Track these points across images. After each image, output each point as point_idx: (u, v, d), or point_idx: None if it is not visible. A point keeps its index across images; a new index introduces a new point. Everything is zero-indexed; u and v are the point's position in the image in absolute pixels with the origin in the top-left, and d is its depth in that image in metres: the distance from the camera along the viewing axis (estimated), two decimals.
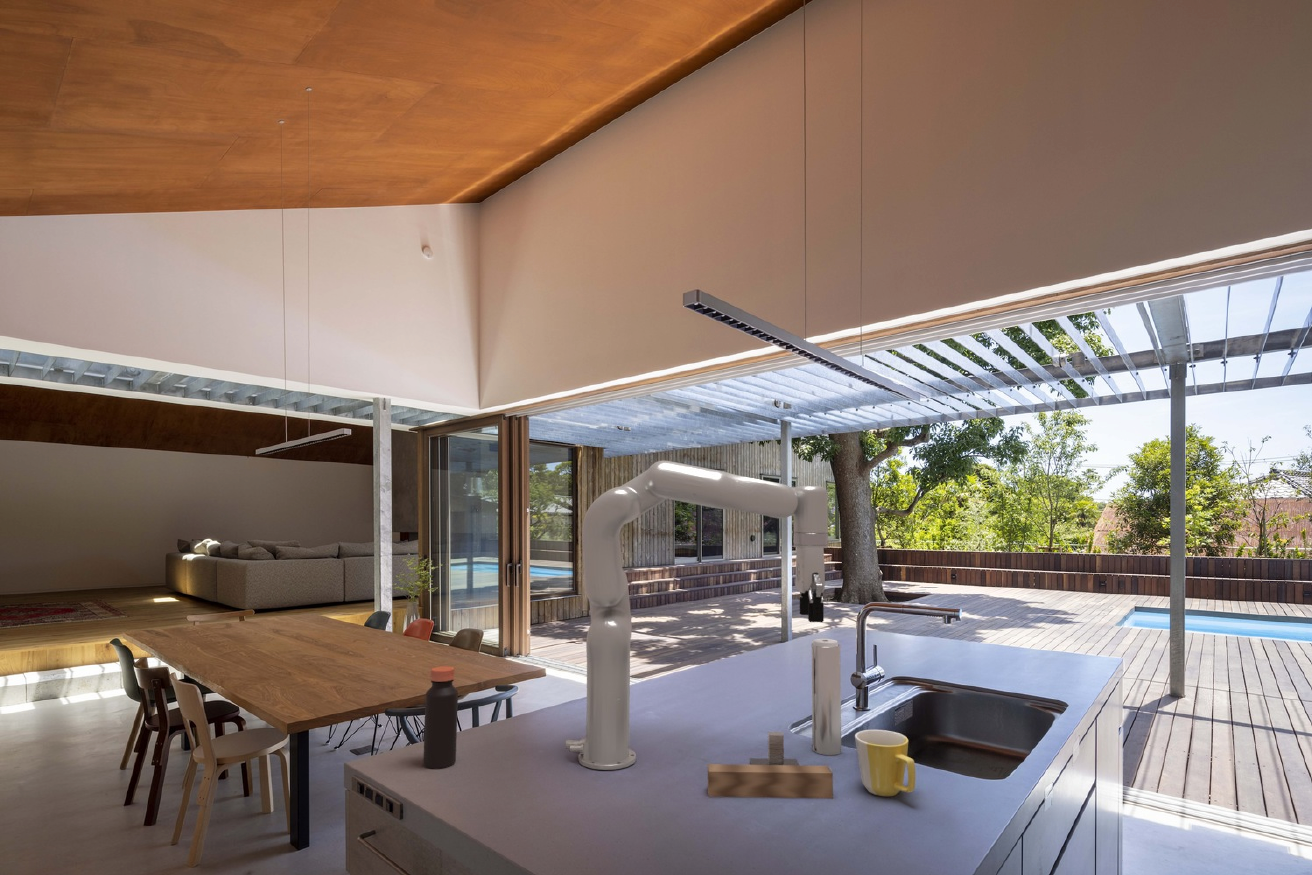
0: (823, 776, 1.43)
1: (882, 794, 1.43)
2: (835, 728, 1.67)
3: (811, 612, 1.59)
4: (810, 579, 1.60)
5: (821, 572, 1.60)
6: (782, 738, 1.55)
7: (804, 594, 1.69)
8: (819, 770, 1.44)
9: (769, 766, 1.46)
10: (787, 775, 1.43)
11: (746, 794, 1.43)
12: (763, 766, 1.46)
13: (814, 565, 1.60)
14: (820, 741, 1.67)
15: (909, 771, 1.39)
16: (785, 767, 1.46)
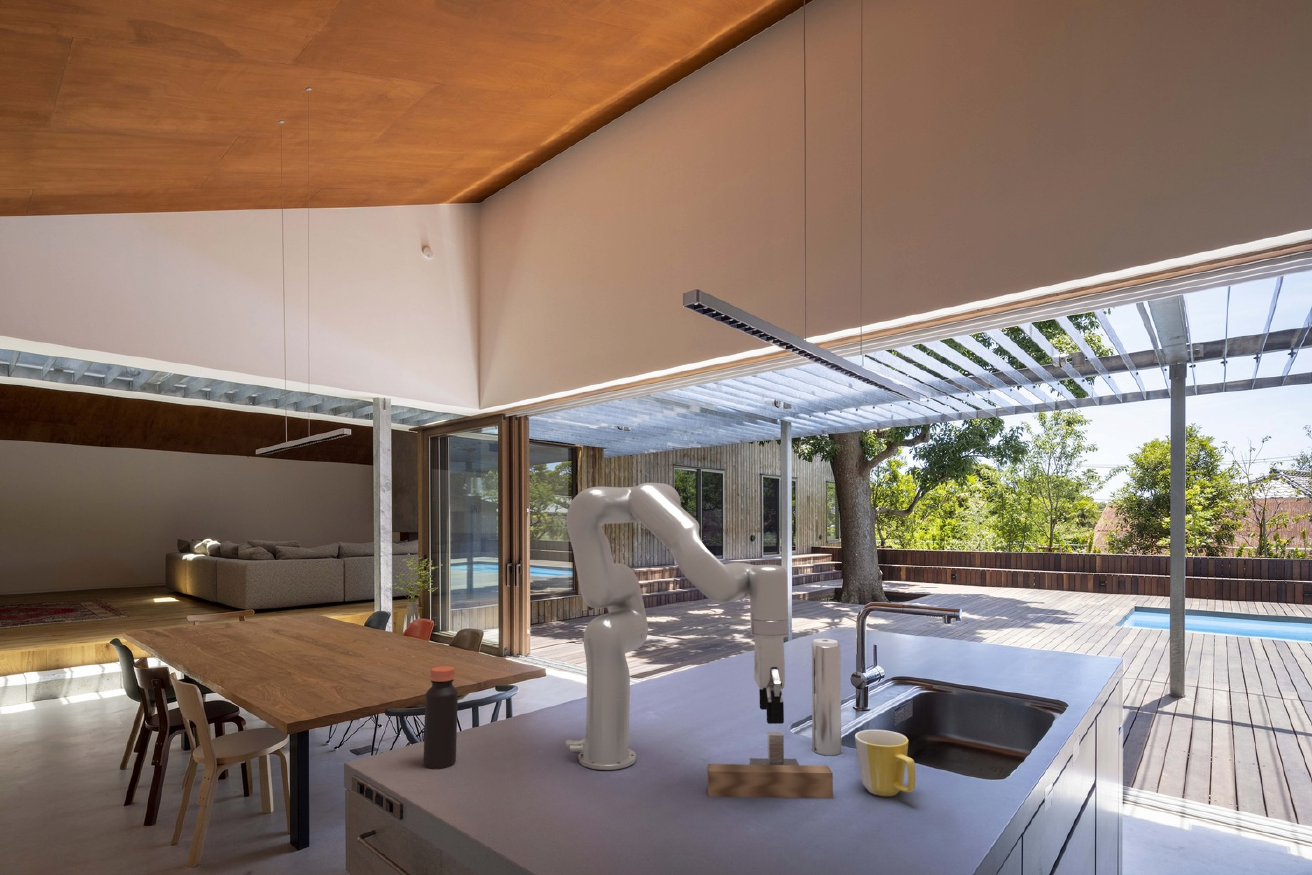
0: (823, 776, 1.43)
1: (882, 794, 1.43)
2: (835, 728, 1.67)
3: (770, 712, 1.40)
4: (768, 674, 1.41)
5: (780, 666, 1.42)
6: (782, 738, 1.55)
7: None
8: (819, 770, 1.44)
9: (769, 766, 1.46)
10: (787, 774, 1.43)
11: (746, 793, 1.43)
12: (763, 766, 1.46)
13: (772, 658, 1.42)
14: (820, 741, 1.67)
15: (909, 771, 1.39)
16: (785, 767, 1.46)
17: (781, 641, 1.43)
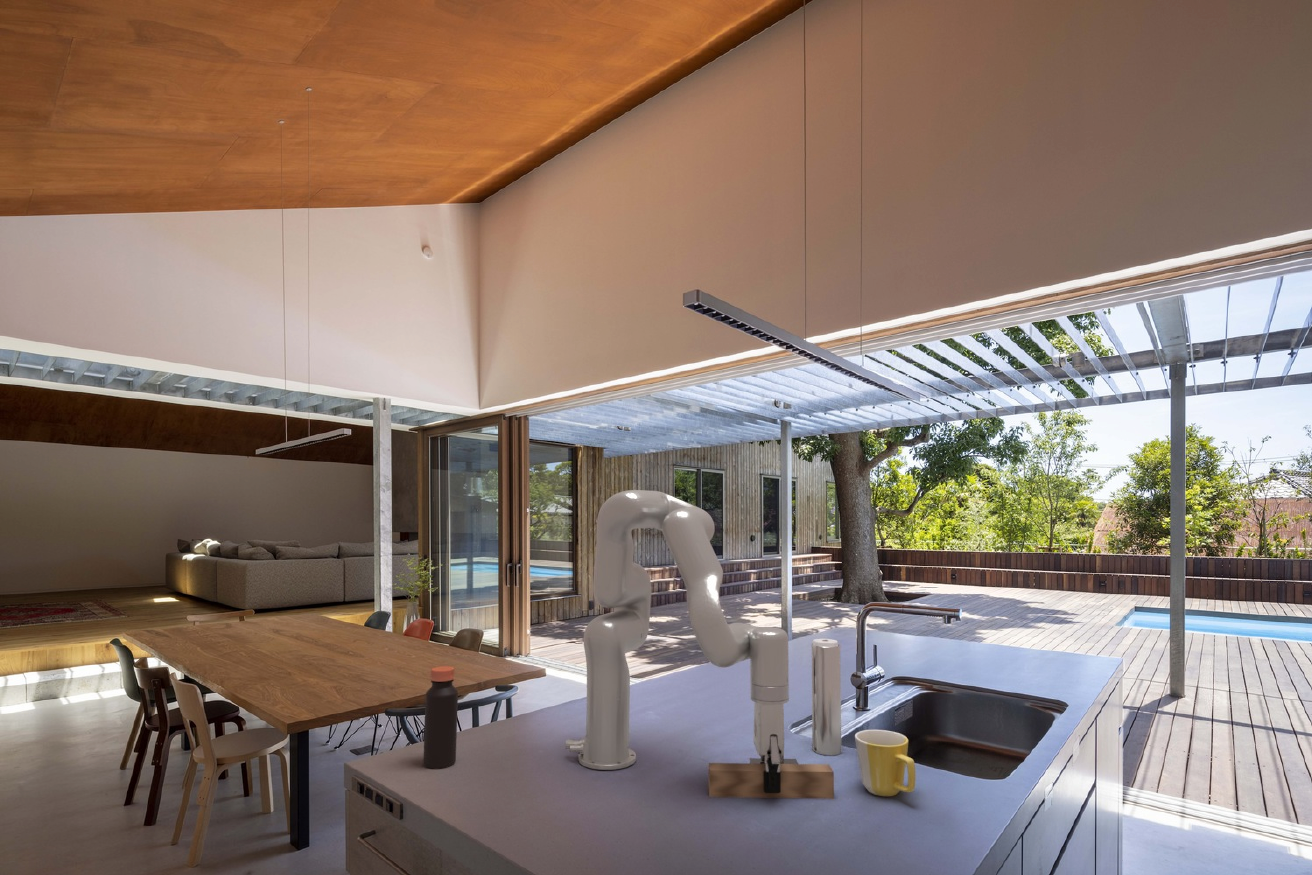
0: (824, 775, 1.43)
1: (882, 794, 1.43)
2: (835, 728, 1.67)
3: (767, 782, 1.42)
4: (767, 742, 1.40)
5: (780, 733, 1.41)
6: None
7: None
8: (821, 769, 1.44)
9: None
10: (788, 773, 1.43)
11: (747, 792, 1.42)
12: (764, 765, 1.46)
13: (772, 725, 1.41)
14: (820, 741, 1.67)
15: (909, 771, 1.39)
16: (786, 765, 1.45)
17: (781, 708, 1.42)
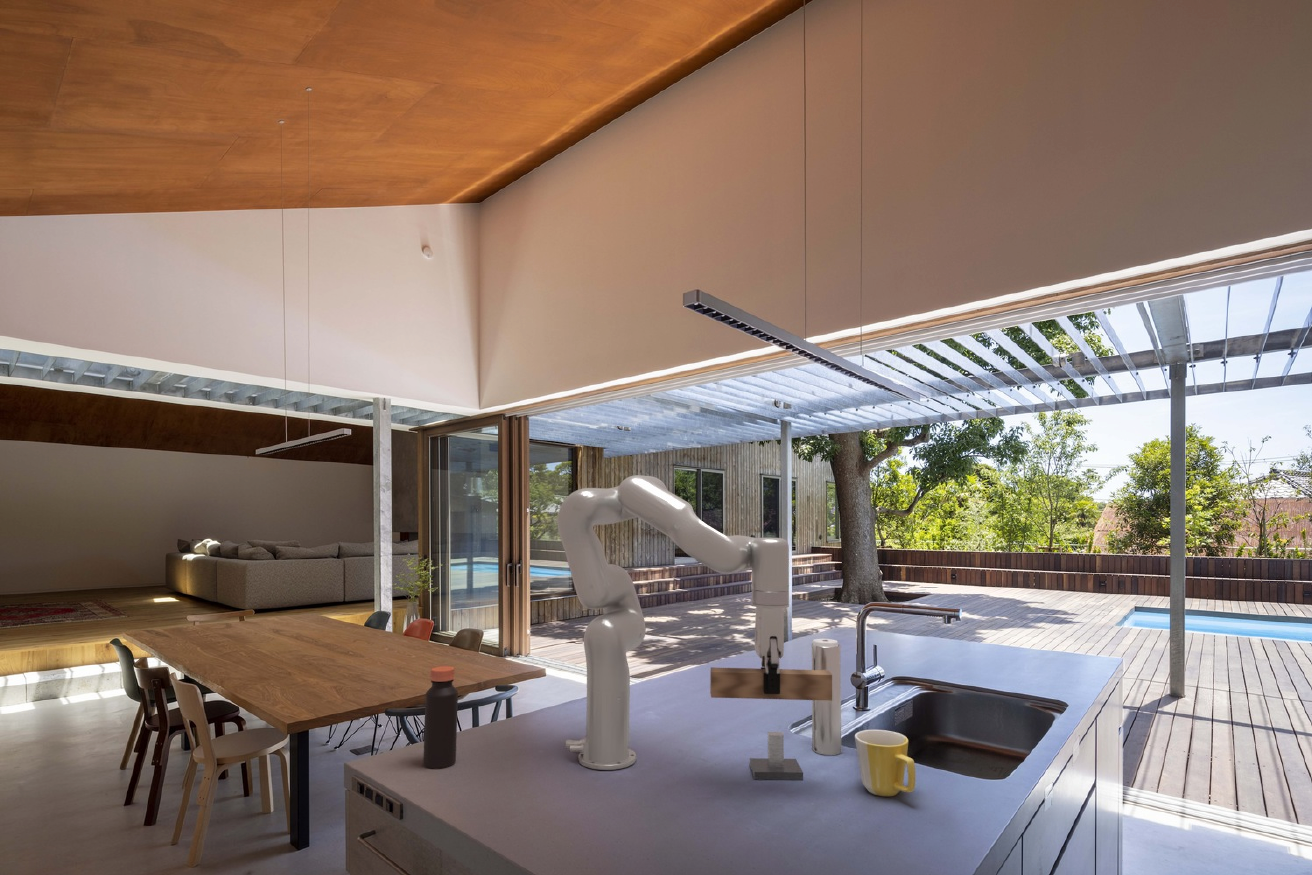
0: (823, 677, 1.47)
1: (882, 794, 1.43)
2: (835, 728, 1.67)
3: (766, 683, 1.46)
4: (767, 643, 1.44)
5: (779, 635, 1.45)
6: (782, 738, 1.55)
7: None
8: (819, 673, 1.48)
9: None
10: (788, 676, 1.47)
11: (748, 694, 1.47)
12: (764, 669, 1.50)
13: (772, 628, 1.45)
14: (820, 741, 1.67)
15: (909, 771, 1.39)
16: (786, 670, 1.50)
17: (781, 611, 1.46)
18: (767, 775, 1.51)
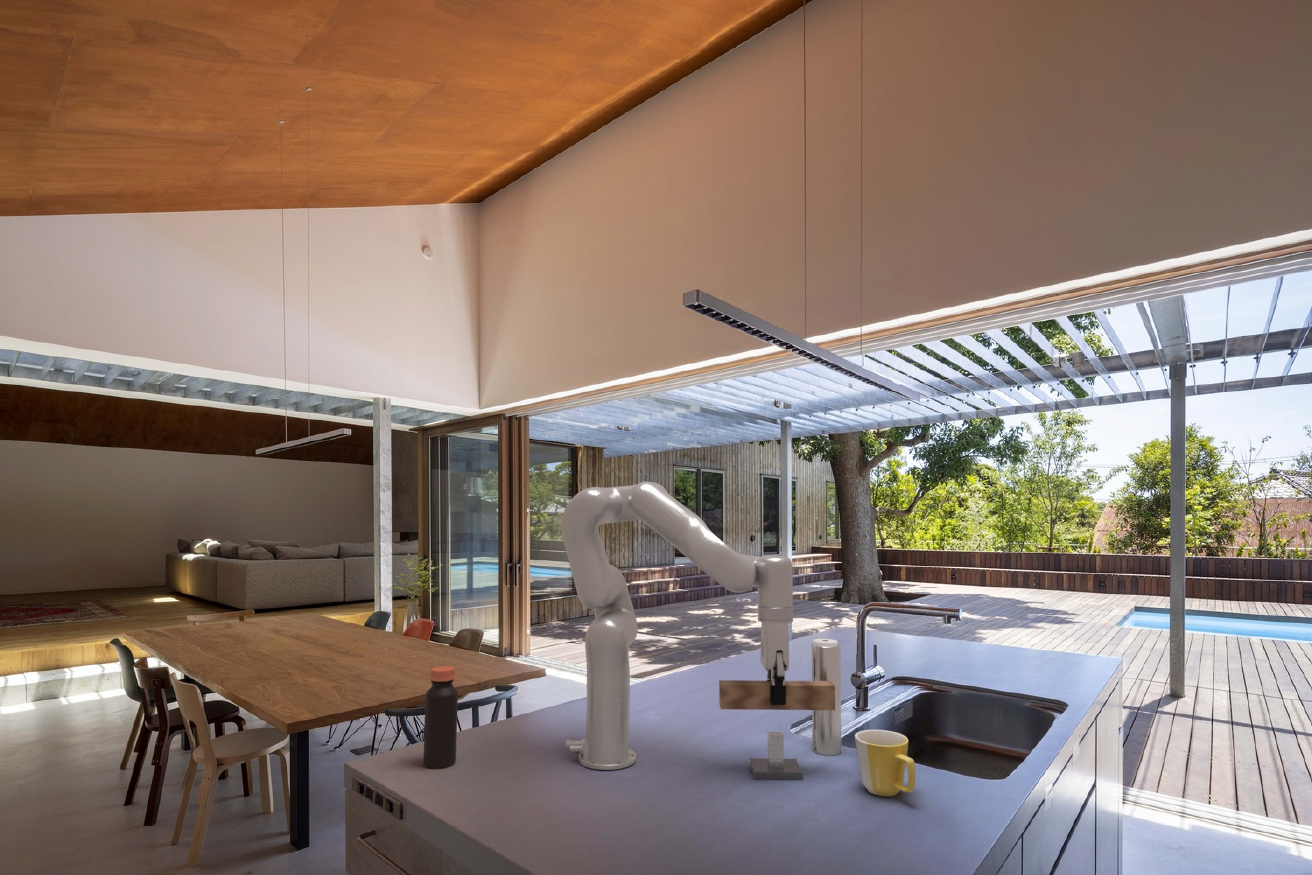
0: (826, 688, 1.55)
1: (882, 794, 1.43)
2: (835, 728, 1.67)
3: (773, 695, 1.54)
4: (774, 657, 1.52)
5: (785, 649, 1.53)
6: (782, 738, 1.55)
7: None
8: (823, 684, 1.56)
9: None
10: (793, 687, 1.55)
11: (755, 705, 1.55)
12: None
13: (778, 642, 1.53)
14: (820, 741, 1.67)
15: (909, 771, 1.39)
16: (791, 682, 1.58)
17: (786, 626, 1.54)
18: (767, 775, 1.51)
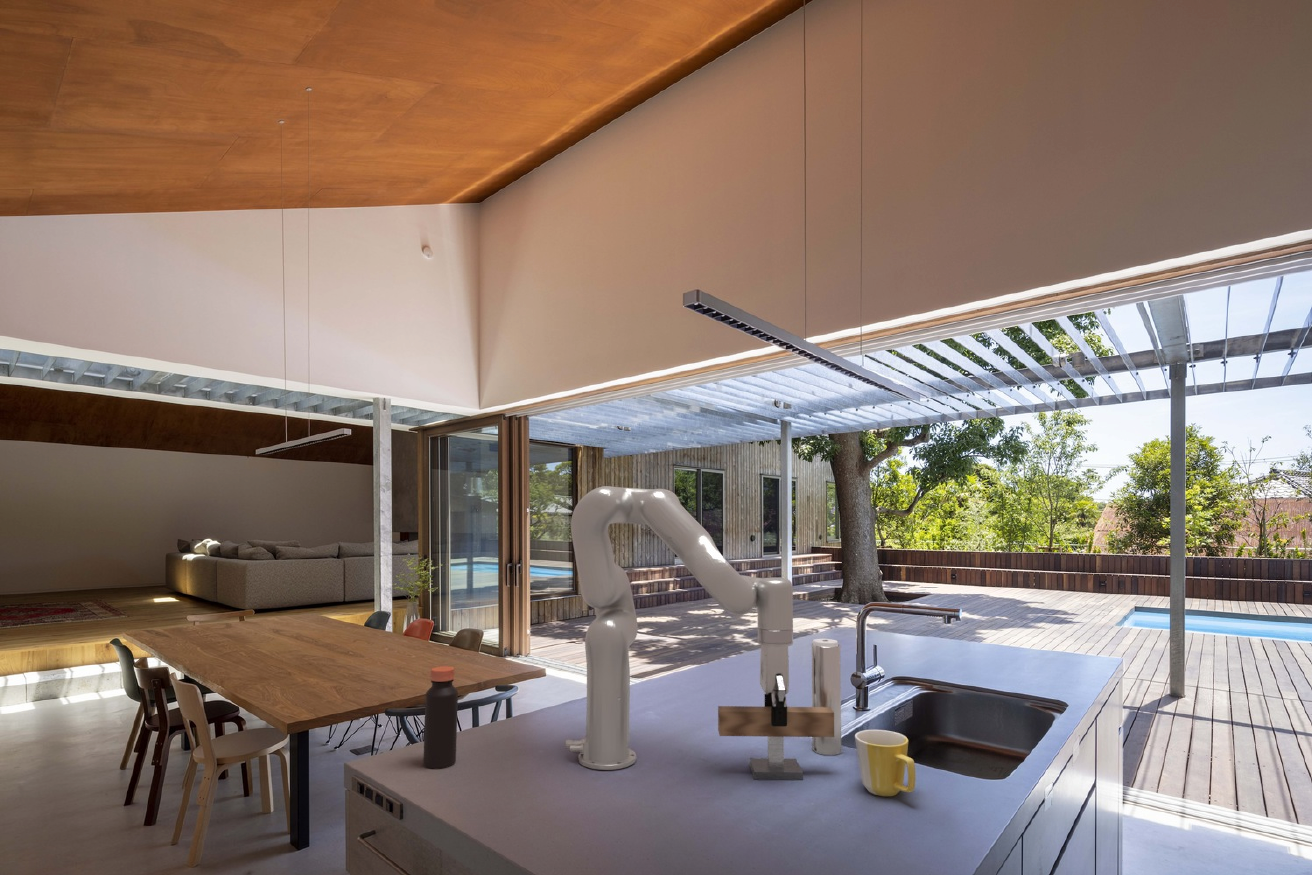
0: (825, 715, 1.54)
1: (882, 794, 1.43)
2: (835, 728, 1.67)
3: (774, 716, 1.51)
4: (773, 680, 1.52)
5: (784, 672, 1.52)
6: (782, 738, 1.55)
7: None
8: (822, 710, 1.56)
9: None
10: (792, 714, 1.54)
11: (754, 732, 1.54)
12: (770, 707, 1.58)
13: (777, 665, 1.52)
14: (820, 741, 1.67)
15: (909, 771, 1.39)
16: (790, 708, 1.57)
17: (786, 649, 1.54)
18: (767, 775, 1.51)
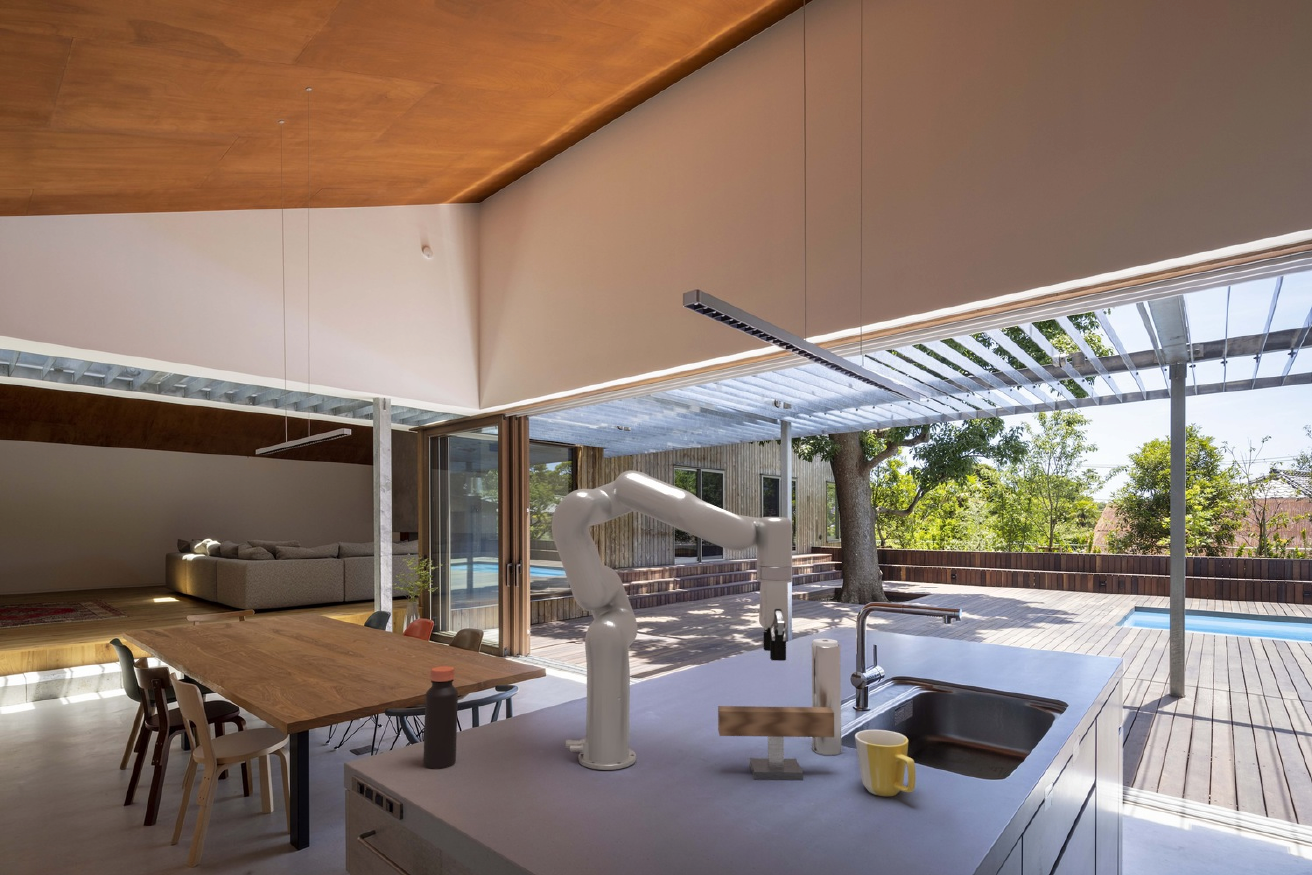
0: (825, 715, 1.54)
1: (882, 794, 1.43)
2: (835, 728, 1.67)
3: (773, 650, 1.53)
4: (772, 615, 1.53)
5: (783, 608, 1.53)
6: (782, 738, 1.55)
7: (768, 629, 1.63)
8: (822, 710, 1.56)
9: (775, 707, 1.58)
10: (792, 714, 1.54)
11: (754, 732, 1.54)
12: (770, 707, 1.58)
13: (777, 601, 1.54)
14: (820, 741, 1.67)
15: (909, 771, 1.39)
16: (790, 708, 1.57)
17: (785, 585, 1.55)
18: (767, 775, 1.51)
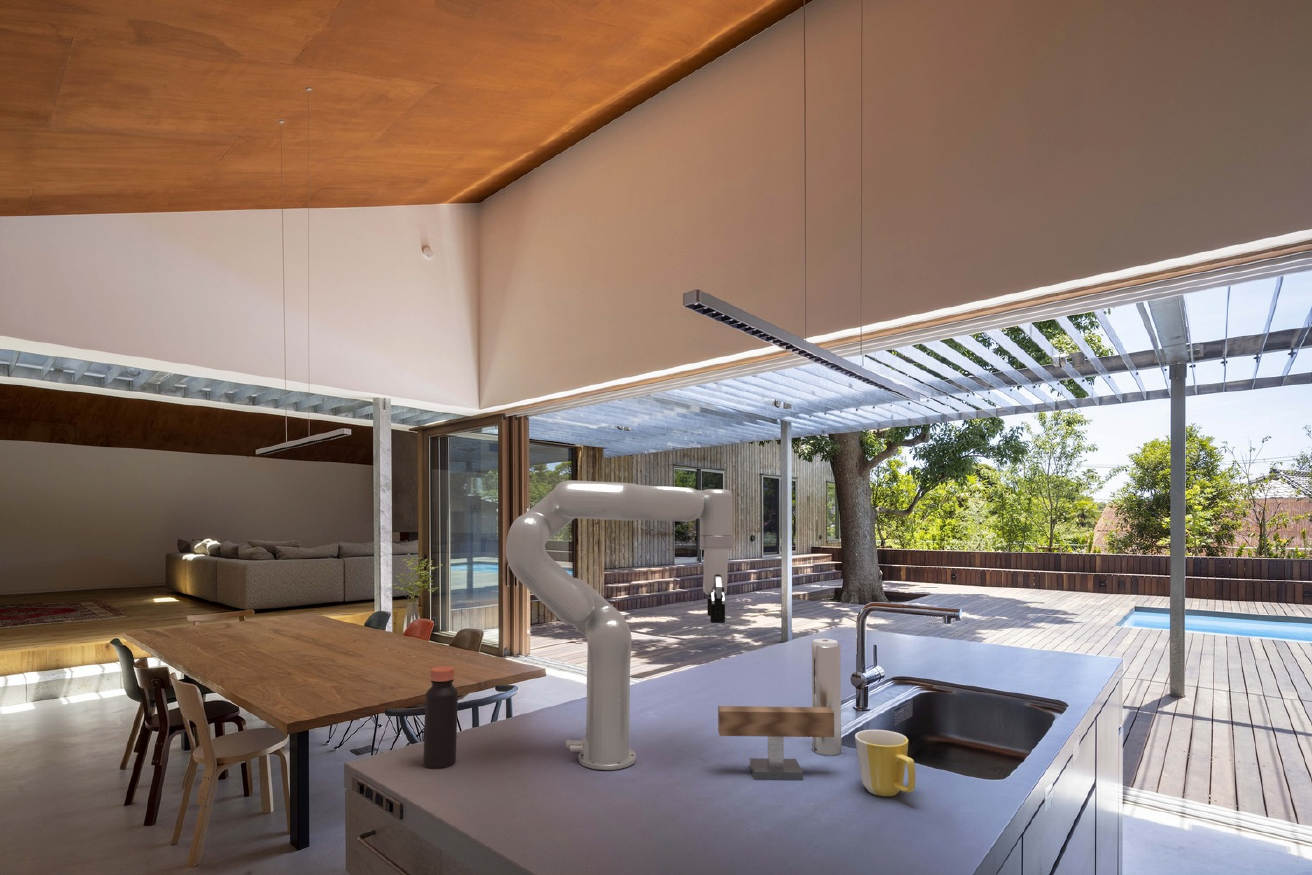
0: (825, 715, 1.54)
1: (882, 794, 1.43)
2: (835, 728, 1.67)
3: (713, 613, 1.62)
4: (712, 581, 1.63)
5: (723, 574, 1.63)
6: (782, 738, 1.55)
7: None
8: (822, 710, 1.56)
9: (775, 707, 1.58)
10: (792, 714, 1.54)
11: (754, 732, 1.54)
12: (770, 707, 1.58)
13: (716, 567, 1.63)
14: (820, 741, 1.67)
15: (909, 771, 1.39)
16: (790, 708, 1.57)
17: (725, 553, 1.64)
18: (767, 775, 1.51)
